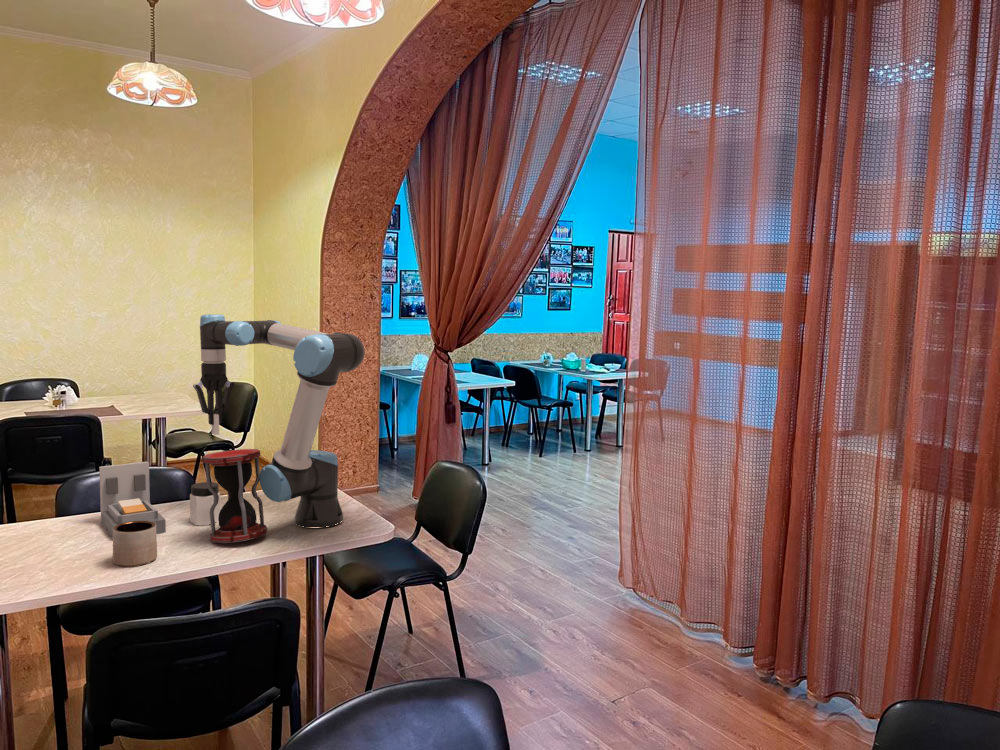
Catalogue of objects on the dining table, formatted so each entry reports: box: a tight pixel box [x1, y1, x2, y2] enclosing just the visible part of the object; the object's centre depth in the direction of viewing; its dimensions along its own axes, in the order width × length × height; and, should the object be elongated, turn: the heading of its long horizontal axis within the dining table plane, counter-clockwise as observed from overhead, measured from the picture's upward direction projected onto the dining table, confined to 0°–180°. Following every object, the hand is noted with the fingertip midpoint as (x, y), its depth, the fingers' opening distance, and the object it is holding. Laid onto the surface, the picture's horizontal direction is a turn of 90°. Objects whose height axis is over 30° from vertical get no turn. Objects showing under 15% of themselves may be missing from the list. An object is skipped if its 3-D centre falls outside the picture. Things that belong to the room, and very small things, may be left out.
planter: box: [112, 521, 158, 567], centre depth 207 cm, size 11×11×10 cm
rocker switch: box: [118, 498, 147, 515], centre depth 234 cm, size 10×6×2 cm, turn 38°
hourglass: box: [202, 448, 268, 544], centre depth 226 cm, size 16×16×25 cm
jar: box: [189, 481, 221, 526], centre depth 241 cm, size 9×8×12 cm
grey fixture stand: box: [98, 461, 167, 538], centre depth 234 cm, size 20×14×18 cm
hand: (215, 434), depth 248 cm, fingers closed
